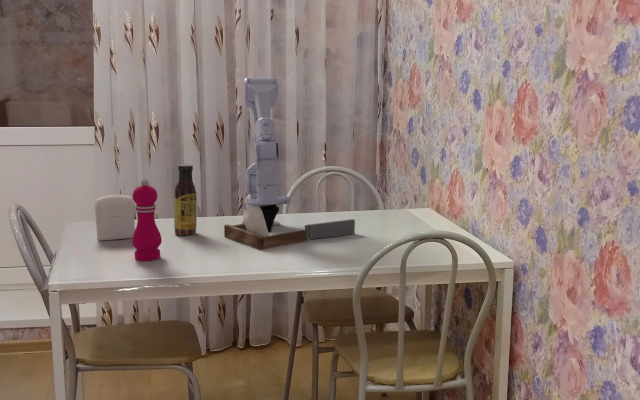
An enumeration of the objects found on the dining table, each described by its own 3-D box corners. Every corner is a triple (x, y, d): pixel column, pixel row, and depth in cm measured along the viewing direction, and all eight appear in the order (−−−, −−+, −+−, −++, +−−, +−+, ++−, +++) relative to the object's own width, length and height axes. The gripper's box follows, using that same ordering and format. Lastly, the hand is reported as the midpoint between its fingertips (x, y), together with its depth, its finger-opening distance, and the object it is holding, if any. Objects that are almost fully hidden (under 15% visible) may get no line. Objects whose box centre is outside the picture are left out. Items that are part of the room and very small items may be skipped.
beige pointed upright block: (257, 200, 187) (236, 204, 188) (268, 240, 192) (248, 244, 192) (259, 192, 193) (239, 196, 194) (270, 231, 197) (250, 235, 198)
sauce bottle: (181, 237, 197) (179, 167, 194) (170, 233, 202) (168, 164, 198) (201, 233, 202) (200, 165, 198) (190, 229, 206) (188, 162, 202)
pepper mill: (137, 253, 181) (134, 176, 177) (165, 253, 181) (162, 177, 177) (129, 261, 174) (125, 181, 170) (158, 261, 174) (155, 182, 170)
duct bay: (224, 237, 198) (224, 222, 197) (272, 228, 209) (272, 214, 208) (260, 250, 185) (260, 234, 184) (309, 240, 196) (309, 225, 195)
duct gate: (309, 239, 196) (310, 225, 195) (307, 238, 197) (307, 224, 196) (354, 233, 203) (354, 219, 202) (352, 232, 204) (352, 219, 203)
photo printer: (97, 241, 192) (94, 197, 190) (96, 238, 196) (94, 194, 194) (135, 239, 195) (133, 195, 193) (134, 235, 199) (133, 192, 197)
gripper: (253, 189, 186) (254, 238, 189) (296, 183, 196) (296, 230, 198) (238, 185, 192) (239, 233, 194) (281, 179, 201) (281, 226, 204)
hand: (267, 231), depth 197 cm, fingers closed
